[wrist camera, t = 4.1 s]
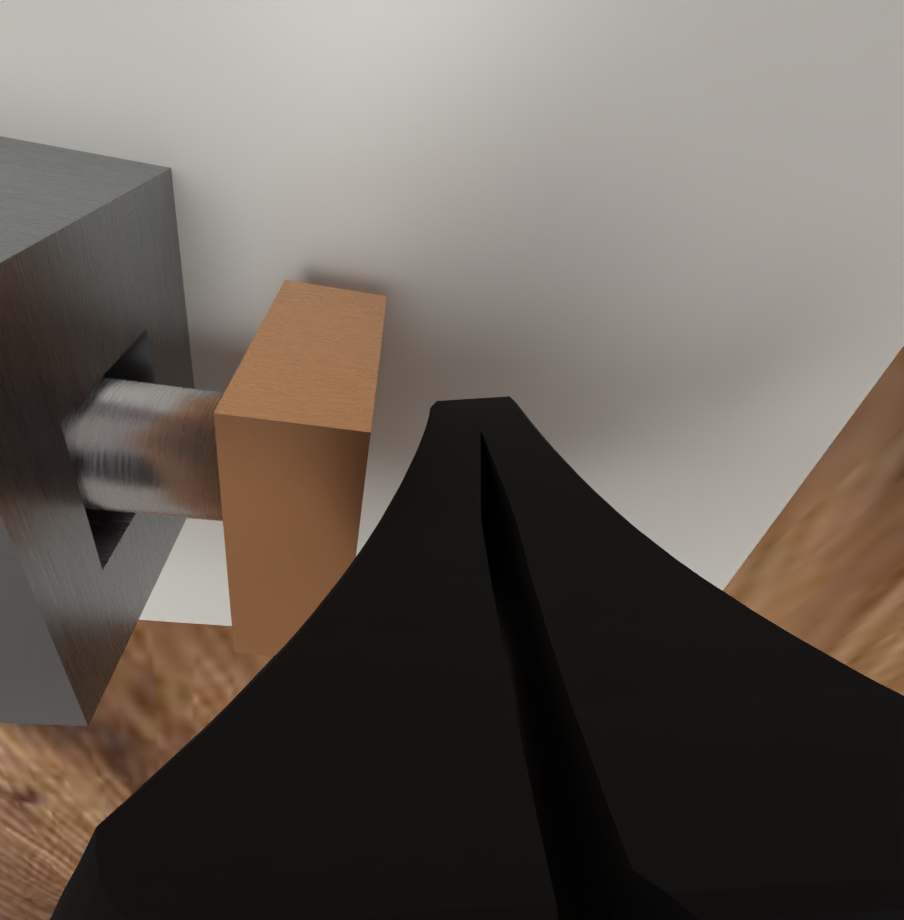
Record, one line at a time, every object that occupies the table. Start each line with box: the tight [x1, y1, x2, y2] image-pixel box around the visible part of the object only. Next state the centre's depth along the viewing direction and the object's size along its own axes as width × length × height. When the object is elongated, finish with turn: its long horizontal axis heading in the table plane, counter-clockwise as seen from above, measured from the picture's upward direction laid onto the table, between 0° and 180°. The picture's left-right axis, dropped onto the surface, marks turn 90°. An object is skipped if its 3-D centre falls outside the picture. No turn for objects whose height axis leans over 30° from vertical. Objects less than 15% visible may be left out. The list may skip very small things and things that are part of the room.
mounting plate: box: [0, 0, 904, 626], centre depth 11 cm, size 18×16×1 cm
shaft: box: [60, 280, 387, 656], centre depth 7 cm, size 10×4×4 cm, turn 79°
